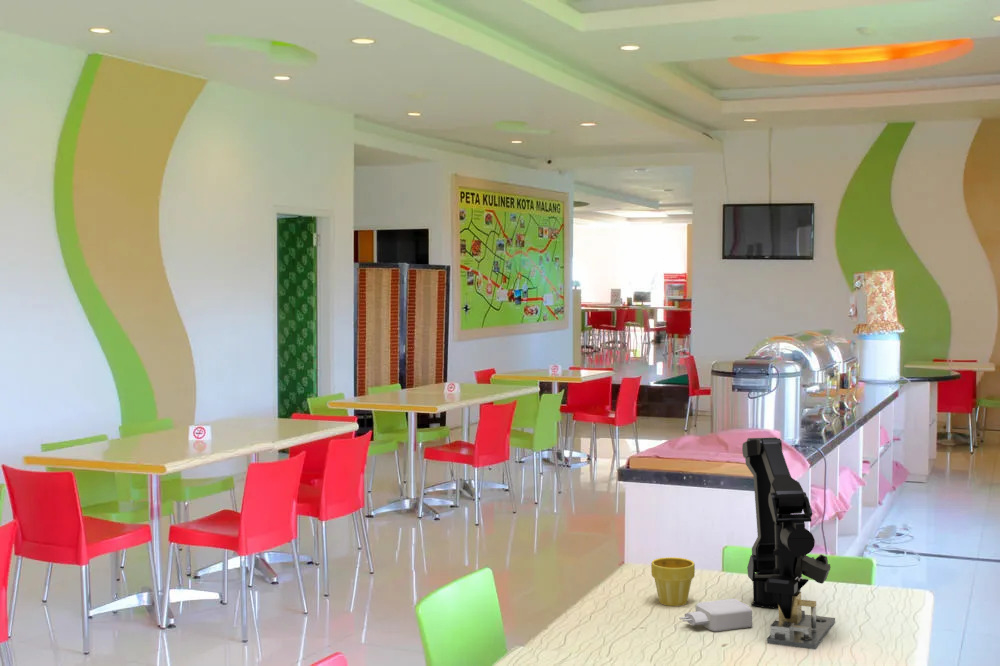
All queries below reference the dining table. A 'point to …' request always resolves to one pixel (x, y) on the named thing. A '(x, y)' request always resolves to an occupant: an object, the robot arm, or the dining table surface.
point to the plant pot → (673, 579)
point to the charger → (721, 615)
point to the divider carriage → (800, 611)
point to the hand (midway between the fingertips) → (790, 615)
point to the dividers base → (800, 632)
